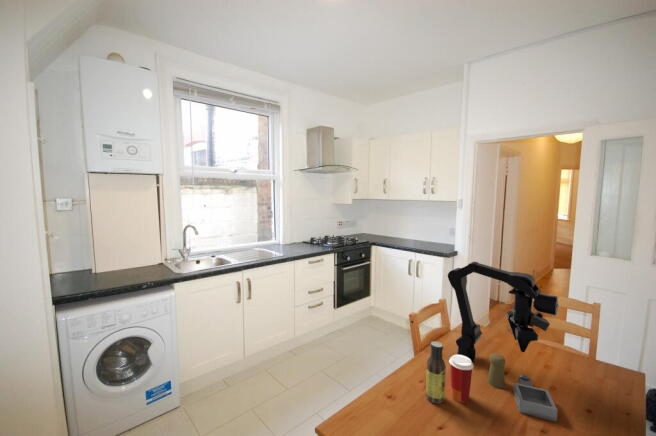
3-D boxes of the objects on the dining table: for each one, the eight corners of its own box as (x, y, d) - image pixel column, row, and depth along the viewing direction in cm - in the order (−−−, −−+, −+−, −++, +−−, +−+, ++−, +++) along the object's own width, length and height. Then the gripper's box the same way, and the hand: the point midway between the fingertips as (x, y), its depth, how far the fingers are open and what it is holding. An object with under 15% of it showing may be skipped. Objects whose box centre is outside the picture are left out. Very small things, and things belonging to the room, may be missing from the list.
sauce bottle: (445, 406, 97) (447, 350, 96) (425, 402, 99) (427, 347, 97) (443, 394, 103) (445, 341, 102) (425, 390, 105) (427, 338, 103)
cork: (500, 378, 112) (501, 351, 111) (508, 388, 106) (510, 360, 105) (484, 377, 113) (485, 350, 112) (491, 387, 107) (492, 359, 106)
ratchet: (519, 415, 95) (520, 401, 94) (508, 380, 112) (509, 368, 112) (556, 424, 91) (557, 410, 90) (539, 387, 108) (540, 375, 108)
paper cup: (470, 392, 104) (471, 355, 103) (473, 407, 97) (475, 368, 96) (447, 387, 107) (448, 352, 105) (448, 402, 99) (450, 363, 98)
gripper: (557, 321, 98) (553, 364, 99) (539, 301, 115) (536, 338, 117) (519, 315, 102) (516, 356, 103) (507, 297, 119) (505, 332, 121)
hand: (519, 345), depth 111 cm, fingers open, 9 cm apart
